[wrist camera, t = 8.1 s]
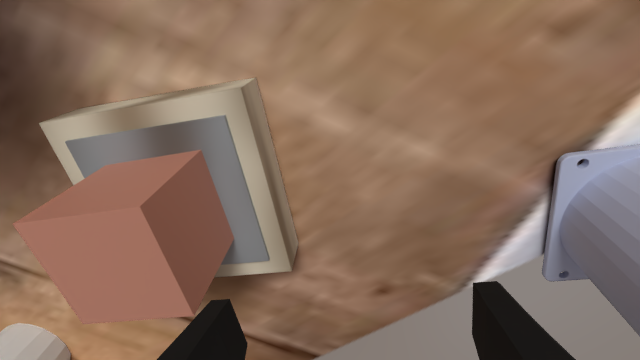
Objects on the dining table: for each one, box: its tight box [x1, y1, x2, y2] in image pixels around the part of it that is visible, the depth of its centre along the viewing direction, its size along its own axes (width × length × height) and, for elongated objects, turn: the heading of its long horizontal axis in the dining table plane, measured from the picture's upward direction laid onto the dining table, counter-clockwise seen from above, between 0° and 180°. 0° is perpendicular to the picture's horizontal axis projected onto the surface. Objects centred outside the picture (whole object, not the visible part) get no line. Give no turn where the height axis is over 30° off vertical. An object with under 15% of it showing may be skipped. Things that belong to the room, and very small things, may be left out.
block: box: [13, 150, 234, 324], centre depth 15 cm, size 5×5×5 cm
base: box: [39, 77, 298, 277], centre depth 18 cm, size 10×10×3 cm
